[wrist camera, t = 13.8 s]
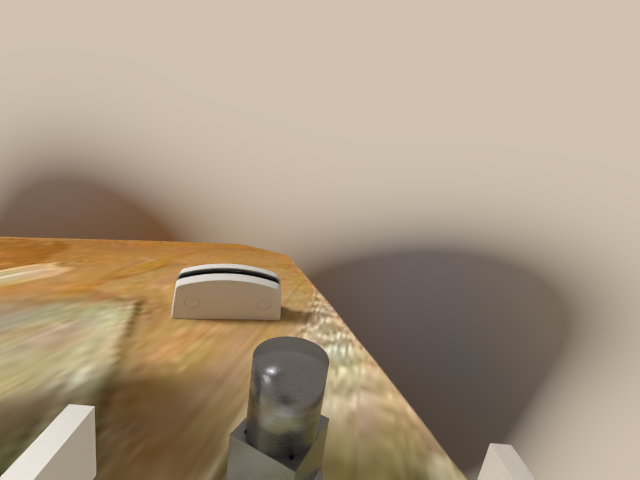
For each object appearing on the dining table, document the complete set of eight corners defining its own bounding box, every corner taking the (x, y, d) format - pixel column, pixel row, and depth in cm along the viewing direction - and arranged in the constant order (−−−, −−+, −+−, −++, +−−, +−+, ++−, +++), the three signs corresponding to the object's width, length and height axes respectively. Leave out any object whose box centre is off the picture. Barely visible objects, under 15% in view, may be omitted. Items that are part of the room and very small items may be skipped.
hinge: (278, 306, 58) (286, 261, 52) (279, 327, 54) (289, 281, 48) (176, 303, 54) (174, 254, 48) (170, 325, 50) (167, 276, 44)
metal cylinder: (225, 487, 23) (236, 361, 20) (266, 437, 27) (279, 329, 25) (287, 528, 21) (307, 394, 18) (320, 467, 25) (340, 353, 23)
